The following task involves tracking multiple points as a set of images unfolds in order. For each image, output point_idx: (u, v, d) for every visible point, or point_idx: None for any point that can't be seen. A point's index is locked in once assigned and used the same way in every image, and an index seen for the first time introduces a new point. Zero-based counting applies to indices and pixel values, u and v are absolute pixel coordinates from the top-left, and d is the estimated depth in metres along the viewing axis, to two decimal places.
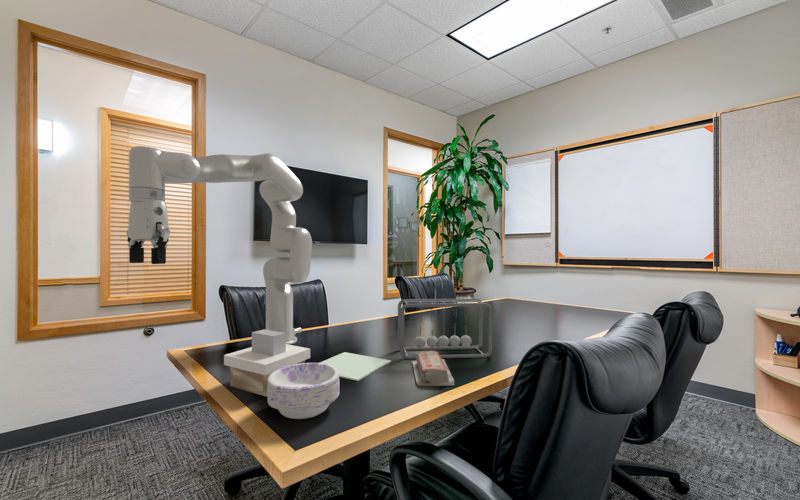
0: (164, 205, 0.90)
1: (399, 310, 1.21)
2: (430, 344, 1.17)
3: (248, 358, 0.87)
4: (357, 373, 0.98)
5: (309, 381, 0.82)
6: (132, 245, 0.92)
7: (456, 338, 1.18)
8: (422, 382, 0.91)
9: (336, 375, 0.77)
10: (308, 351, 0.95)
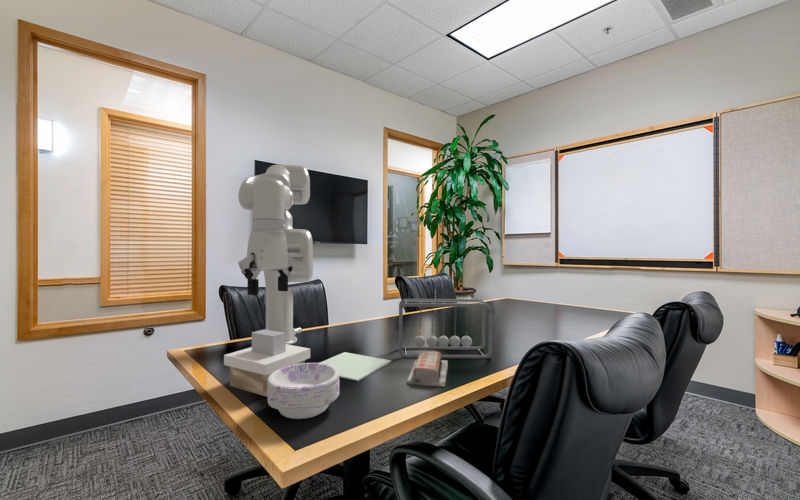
0: None
1: None
2: (429, 344, 1.17)
3: (248, 358, 0.87)
4: (357, 373, 0.98)
5: (309, 381, 0.82)
6: None
7: (456, 338, 1.17)
8: (412, 381, 0.92)
9: (336, 375, 0.77)
10: (308, 351, 0.95)
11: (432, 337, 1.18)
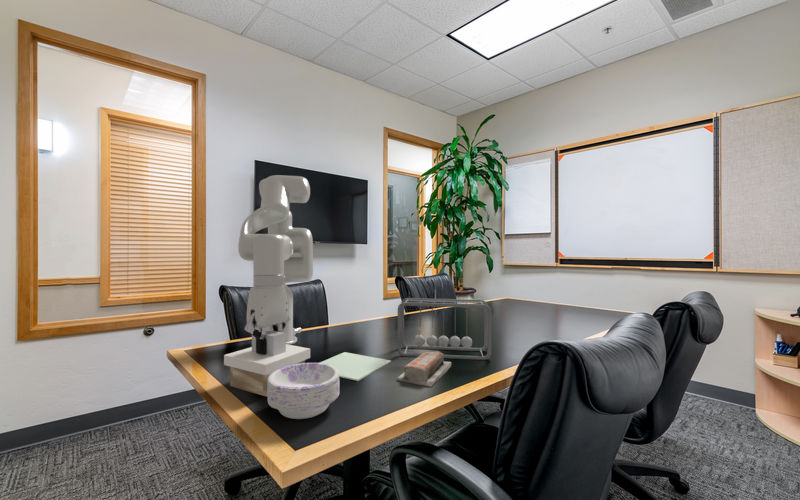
0: None
1: (402, 308, 1.25)
2: (429, 343, 1.18)
3: (248, 358, 0.87)
4: (357, 373, 0.98)
5: (309, 381, 0.82)
6: None
7: (455, 339, 1.17)
8: (401, 378, 0.94)
9: (336, 375, 0.77)
10: (308, 351, 0.95)
11: (432, 337, 1.18)
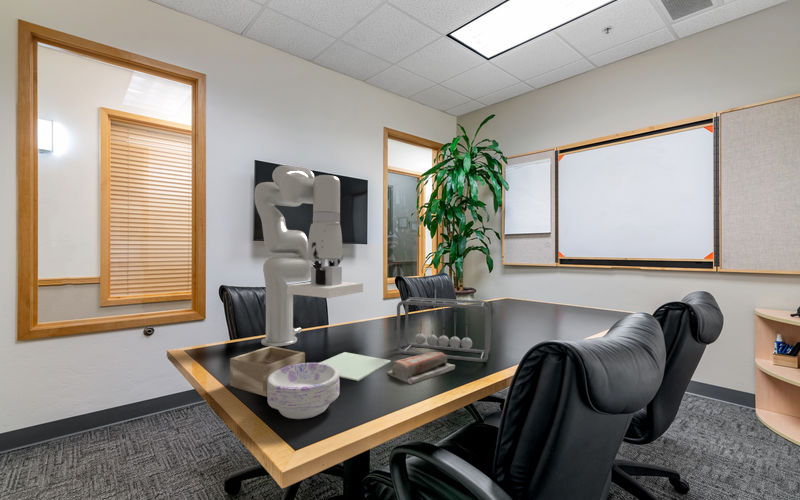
0: None
1: (406, 307, 1.27)
2: (428, 342, 1.19)
3: (310, 286, 0.96)
4: (357, 373, 0.98)
5: (309, 381, 0.82)
6: None
7: (455, 339, 1.16)
8: (390, 372, 0.99)
9: (336, 375, 0.77)
10: (361, 285, 1.04)
11: (431, 336, 1.19)
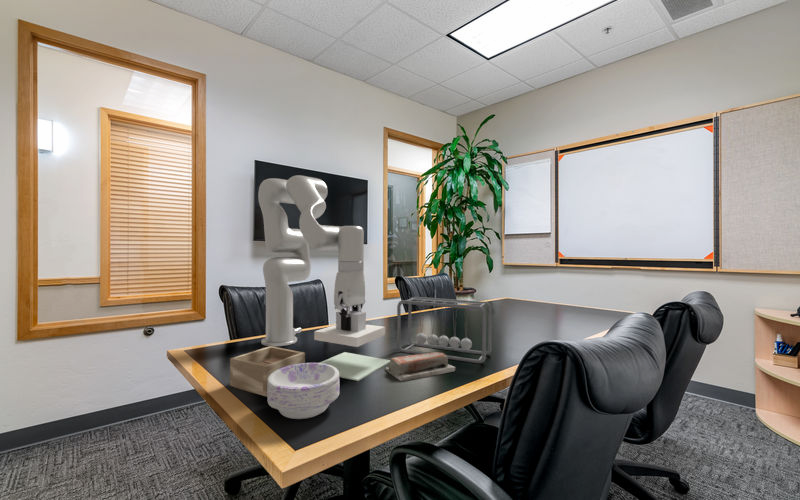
0: None
1: (409, 306, 1.29)
2: (428, 342, 1.20)
3: (338, 333, 1.00)
4: (357, 373, 0.98)
5: (309, 381, 0.82)
6: None
7: (454, 339, 1.16)
8: (388, 368, 1.02)
9: (336, 375, 0.77)
10: (383, 329, 1.08)
11: (431, 336, 1.20)
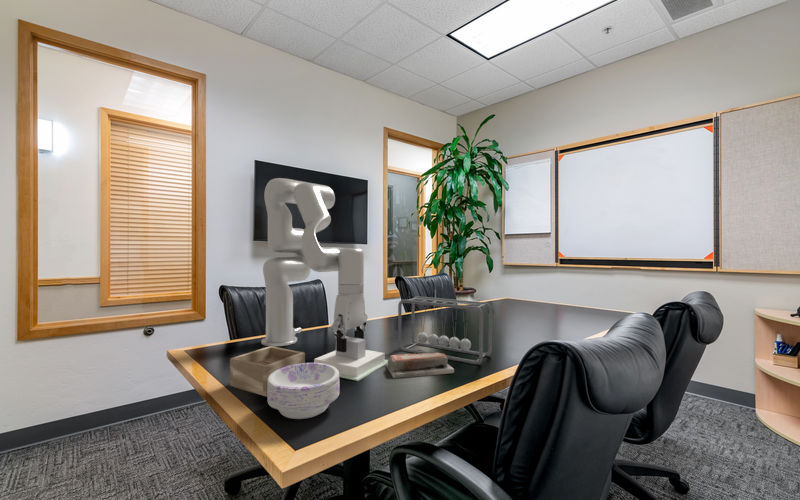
0: None
1: (412, 306, 1.30)
2: (429, 341, 1.20)
3: (338, 362, 1.00)
4: None
5: (309, 381, 0.82)
6: None
7: (453, 340, 1.16)
8: (387, 365, 1.05)
9: (336, 375, 0.77)
10: (383, 355, 1.09)
11: (432, 335, 1.20)
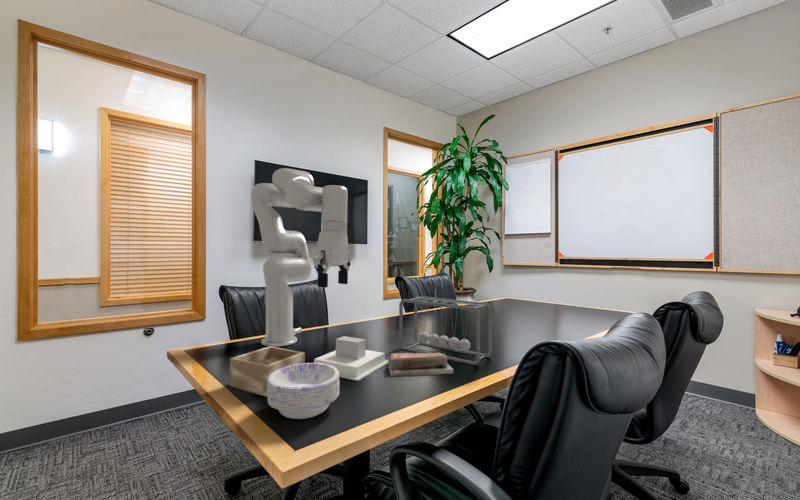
0: None
1: (414, 305, 1.31)
2: (429, 341, 1.21)
3: (338, 362, 1.00)
4: None
5: (309, 381, 0.82)
6: None
7: (452, 340, 1.16)
8: None
9: (336, 375, 0.77)
10: (383, 355, 1.09)
11: (432, 335, 1.20)
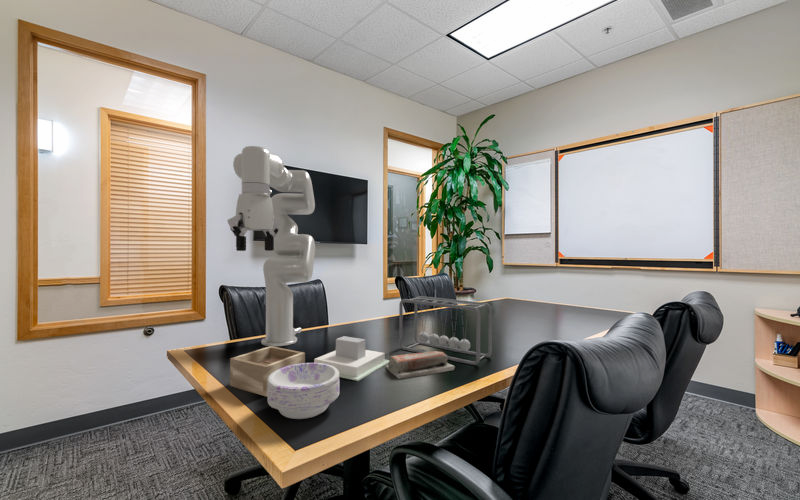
0: None
1: (415, 305, 1.31)
2: (429, 341, 1.21)
3: (338, 362, 1.00)
4: None
5: (309, 381, 0.82)
6: None
7: (452, 340, 1.16)
8: (387, 366, 1.03)
9: (336, 375, 0.77)
10: (383, 355, 1.09)
11: (432, 335, 1.20)
